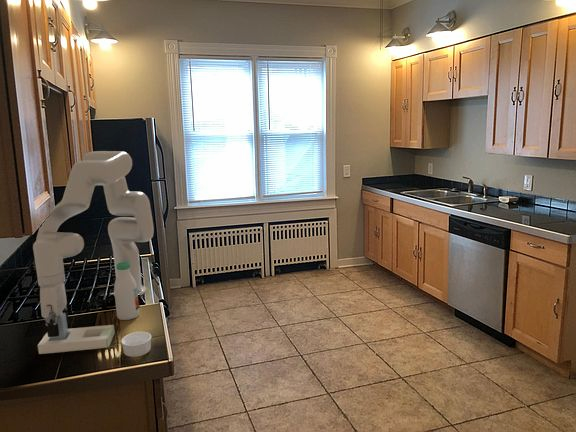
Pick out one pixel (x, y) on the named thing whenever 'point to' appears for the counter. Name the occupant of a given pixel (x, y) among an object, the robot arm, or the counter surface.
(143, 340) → the ramekin
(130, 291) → the milk bottle
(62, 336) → the plug
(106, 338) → the socket panel
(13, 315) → the counter surface
